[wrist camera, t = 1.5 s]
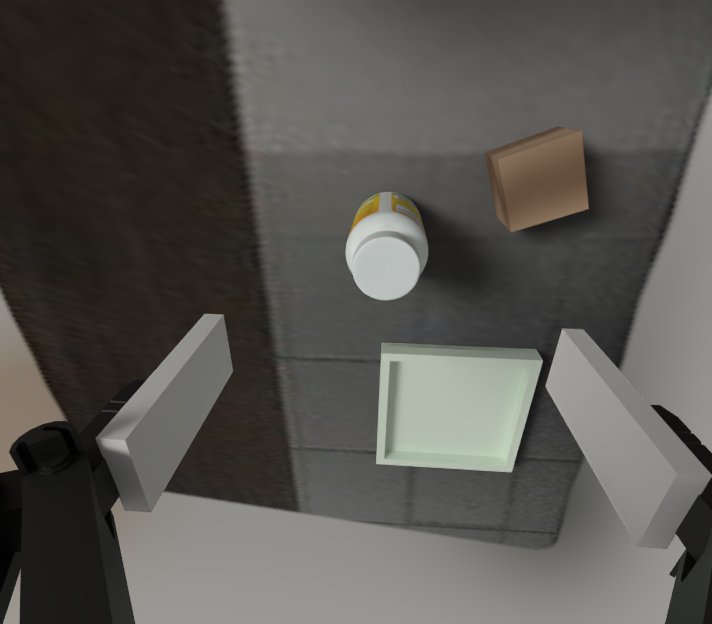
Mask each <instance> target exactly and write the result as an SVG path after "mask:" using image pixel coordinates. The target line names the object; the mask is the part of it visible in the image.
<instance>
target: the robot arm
mask: <svg viewBox="0 0 712 624" xmlns="http://www.w3.org/2000/svg"><path fill="white" fill-rule="evenodd" d="M232 372H233V368H232V362H231V357H230V351H229V345H228V339H227V333H226V327H225V321H224V315H217V314H204V315H203V316H202V318H201V319H200V320H199V321H198V322H197V323H196V324H195V326H194V327H193V328H192V329H191V330H190V331H189V332H188V334H187V335H186V336H185V337H184V338H183V339H182V340H181V341H180V343H179V344H178V345H177V346H176V347H175V348H174V349H173V351H172V352H171V353H170V354H169V355H168V356H167V357H166V359H165V360H164V361H163V362H162V363H161V364H160V365H159V367H158V368H157V369H156V370H155V371H154V372H153V373H152V375H151V376H150V377H149V378H148V379H147V380H135V381H134V382H132V383H131V384H129V385H127V386H126V387H124V388H123V389H121V390H120V391H119V392H118V394H117V395H116V396H115V397H114V398H113V399H112V400H111V403H108V404H107V405H106V406H105V407H104V408H103V409H102V412H100V413H99V414H98V415H97V416H96V417H95V418H94V419H93V420H92V421H91V422H90V423H89V424H88V425H87V427H86V428H85V429H84V430H83V431H82V432H81V433H80V434H79V435H78V434H77V431H76V429H75V427H74V426H73V424H72V423H69V422H66V421H54V422H51V423H46V424H42V425H40V426H38V427H36V428H33V429H31V430H29V431H28V432H26V433H25V434H23V435H22V436H20V437H19V438H18V439H17V440H16V441H15V442H14V444H13V445H12V447H11V449H10V451H9V453H10V455H11V457H12V458H13V460H14V462H15V464H16V465H17V467H18V469H19V470H14V471H8V472H3V473H0V624H3V620H4V618H5V615H6V612H7V609H8V606H9V603H10V600H11V596H12V594H13V591H14V587H15V584H16V581H17V578H18V575H19V572H20V569H21V584H20V585H21V586H20V624H135V620H134V616H133V611H132V606H131V601H130V596H129V591H128V586H127V581H126V577H125V571H124V567H123V561H122V557H121V551H120V547H119V542H118V536H117V531H116V526H115V521H114V517H113V514H112V512H111V508H112V506H113V505H114V503H115V502H116V500H117V499H118V497H120V500H121V502H122V505H123V507H124V510H129V511H141V512H151V511H152V510H153V508H154V506H155V504H156V503H157V501H158V499H159V498H160V496H161V494H162V493H163V491H164V489H165V487H166V486H167V484H168V482H169V480H170V479H171V477H172V475H173V474H174V472H175V470H176V468H177V467H178V465H179V463H180V462H181V460H182V458H183V456H184V455H185V453H186V451H187V449H188V448H189V446H190V444H191V443H192V441H193V439H194V437H195V436H196V434H197V432H198V431H199V429H200V427H201V425H202V424H203V422H204V420H205V418H206V417H207V415H208V413H209V412H210V410H211V408H212V406H213V405H214V403H215V401H216V400H217V398H218V396H219V394H220V393H221V391H222V389H223V388H224V386H225V384H226V382H227V381H228V379H229V377H230V375H231V374H232ZM545 387H546V388H547V390H548V392H549V394H550V395H551V397H552V399H553V401H554V403H555V404H556V406H557V408H558V410H559V411H560V413H561V415H562V417H563V418H564V420H565V422H566V424H567V425H568V427H569V429H570V431H571V432H572V434H573V436H574V438H575V440H576V441H577V443H578V445H579V447H580V448H581V450H582V452H583V454H584V455H585V457H586V459H587V461H588V462H589V464H590V466H591V468H592V470H593V471H594V473H595V475H596V477H597V478H598V480H599V482H600V484H601V485H602V487H603V489H604V491H605V492H606V494H607V496H608V498H609V499H610V501H611V503H612V505H613V506H614V508H615V510H616V512H617V514H618V515H619V517H620V519H621V521H622V522H623V524H624V526H625V528H626V529H627V531H628V533H629V535H630V536H631V538H632V540H633V542H634V544H635V545H636V547H648V548H662V549H667V548H668V546H669V545H670V543H671V541H672V540H673V538H674V537H675V535H676V534H677V536H678V537H679V539H680V540H681V542H682V543H683V545H684V546H685V547H686V550H685V551H684V553H683V555H682V556H681V557H680V559H679V560H678V562H677V563H676V565H675V567H674V568H673V569H672V571H671V572H670V575H671V576H673V577H675V576H676V579H675V584H674V588H673V592H672V597H671V601H670V605H669V609H668V614H667V618H666V622H665V624H712V453H711V452H710V451H709V450H708V449H707V448H706V447H705V446H704V445H702V444H701V441H700V440H699V439H698V438H697V437H696V436H695V435H694V434H691V431H690V430H689V429H688V427H687V426H686V425H684V423H683V422H682V421H681V420H680V419H679V418H678V417H677V416H675V415H674V414H672V413H671V412H669V411H667V410H666V409H665V408H663V407H662V406H660V405H650V404H649V403H648V402H647V401H646V400H645V399H644V398H643V397H642V396H641V394H640V393H639V392H638V391H637V390H636V389H635V387H633V385H632V384H631V383H630V382H629V381H628V380H627V378H626V377H625V376H624V375H623V374H622V373H621V372H620V370H619V369H618V368H617V367H616V366H615V365H614V364H613V363H612V361H611V360H610V359H609V358H608V357H607V356H606V355H605V353H604V352H603V351H602V350H601V349H600V348H599V347H598V346H597V344H596V343H595V342H594V341H593V340H592V339H591V338H590V336H589V335H588V334H587V333H586V332H585V331H584V330H583V329H562V332H561V335H560V338H559V342H558V345H557V349H556V352H555V355H554V359H553V362H552V366H551V369H550V373H549V376H548V379H547V383H546V386H545Z"/></svg>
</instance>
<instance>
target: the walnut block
mask: <svg viewBox="0 0 712 624" xmlns="http://www.w3.org/2000/svg"><path fill="white" fill-rule="evenodd" d="M485 157H486V162H487V167H488V172H489V177H490V182H491V188H492V193H493V198H494V203H495V208H496V213H497V218H498V219H499V220H500V221H501V222H502V223H503V224H504V225H505V226H506V227H507V229H508V230H509V231H510V232H514V231H518V230H521V229H524V228H527V227H531V226H534V225H537V224H541V223H544V222H547V221H551V220H554V219H557V218H561V217H564V216H567V215H570V214H574V213H577V212H580V211H584V210H587V209H589V206H588V195H587V183H586V172H585V161H584V150H583V139H582V130H575V129H568V128H561V127H556V128H553V129H550V130H547V131H545V132H542V133H539V134H536V135H533V136H530V137H527V138H525V139H522V140H519V141H516V142H513V143H510V144H508V145H505V146H502V147H499V148H496V149H493V150H491V151H488V152H485Z"/></svg>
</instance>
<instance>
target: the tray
mask: <svg viewBox="0 0 712 624" xmlns="http://www.w3.org/2000/svg"><path fill="white" fill-rule="evenodd" d="M542 363H543V360H542V358H541V356H540V355H539V353H538V351H537V350H536V349H523V348H500V347H477V346H454V345H431V344H408V343H385V342H382V345H381V367H380V389H379V411H378V433H377V457H376V464H386V465H402V466H418V467H435V468H451V469H467V470H483V471H500V472H512V469H513V466H514V462H515V459H516V455H517V452H518V448H519V445H520V441H521V437H522V434H523V430H524V427H525V423H526V420H527V416H528V413H529V409H530V405H531V402H532V398H533V395H534V391H535V388H536V384H537V380H538V377H539V373H540V370H541V366H542Z"/></svg>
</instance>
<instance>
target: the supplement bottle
mask: <svg viewBox="0 0 712 624" xmlns="http://www.w3.org/2000/svg"><path fill="white" fill-rule="evenodd" d="M427 259H428V243H427V238H426V235H425V231H424V227H423V223H422V219H421V216H420V213H419V211H418V209H417V207H416V206H415V204H414V203H413V202H412V201H411V200H410V199H408V198H407V197H405V196H404V195H401V194H398V193H394V192H382V193H379V194H376V195H373V196H372V197H370V198H369V199H367V200H366V201H365V202H364V203H363V204H362V205H361V206H360V208H359V209H358V211H357V213H356V216H355V218H354V222H353V225H352V228H351V231H350V234H349V237H348V240H347V244H346V260H347V264H348V267H349V269H350V271H351V272H352V274H353V277H354V280H355V282H356V284H357V285H358V287H359V288H360V289H361V290H362V291H363V292H364V293H365V294H367V295H368V296H370V297H372V298H375V299H379V300H393V299H397V298H400V297H402V296H404V295H405V294H407V293H408V292H409V291H411V289H412V288H413V287H414V286H415V284H416V283H417V281H418V278H419V276H420V275H421V273H422V271H423V270H424V268H425V265H426V262H427Z"/></svg>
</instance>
